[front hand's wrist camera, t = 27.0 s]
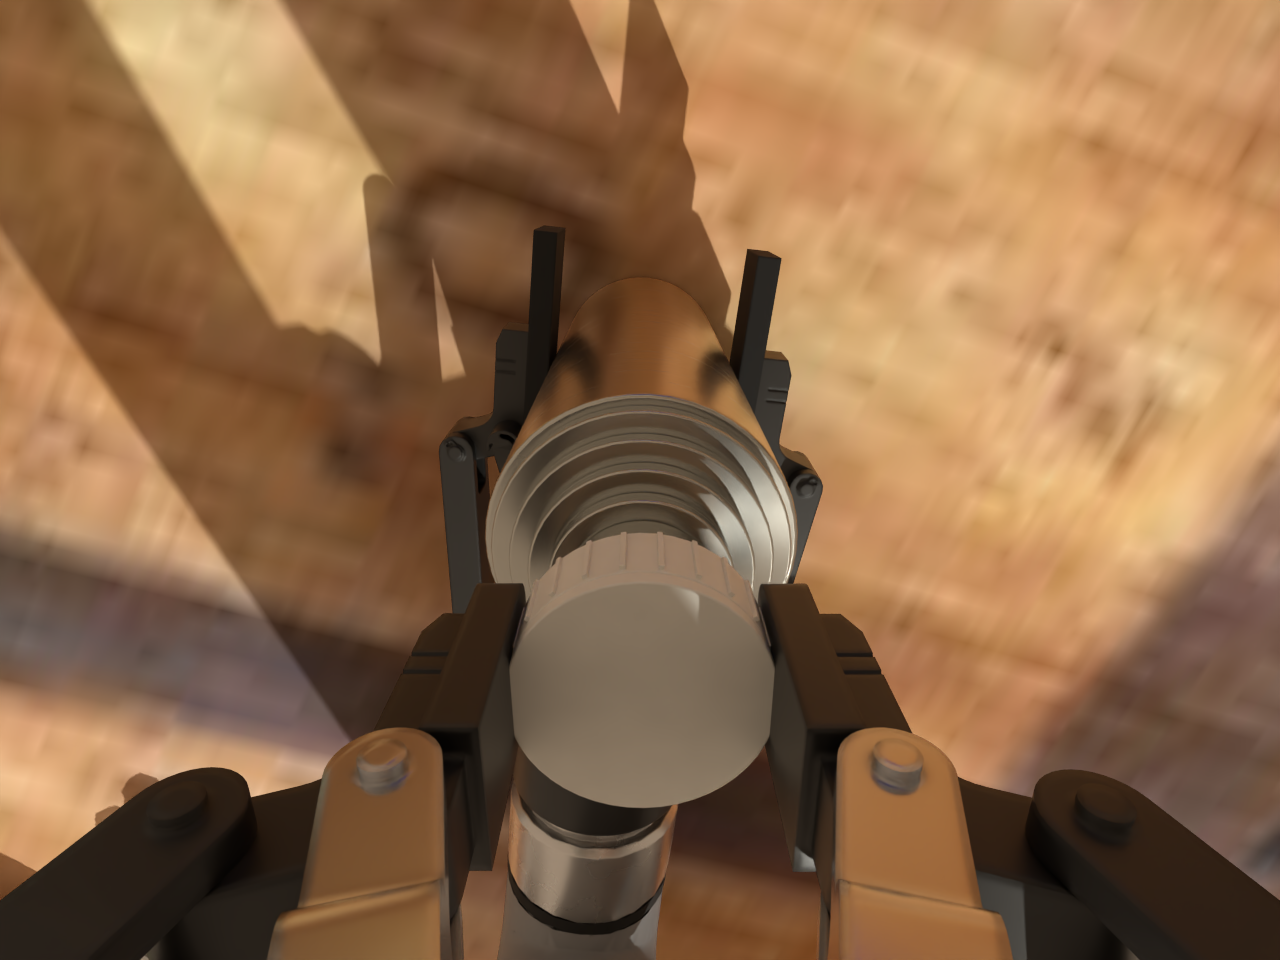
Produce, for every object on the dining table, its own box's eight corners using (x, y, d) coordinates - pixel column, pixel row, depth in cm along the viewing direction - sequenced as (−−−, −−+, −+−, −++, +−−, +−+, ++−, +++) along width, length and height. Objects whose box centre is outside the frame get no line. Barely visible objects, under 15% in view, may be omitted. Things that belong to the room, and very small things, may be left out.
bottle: (543, 387, 33) (375, 750, 12) (603, 250, 31) (526, 400, 10) (674, 446, 34) (729, 876, 13) (741, 317, 32) (936, 582, 11)
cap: (471, 584, 12) (448, 640, 10) (712, 488, 11) (723, 534, 10) (581, 770, 13) (573, 842, 12) (801, 694, 13) (821, 760, 11)
